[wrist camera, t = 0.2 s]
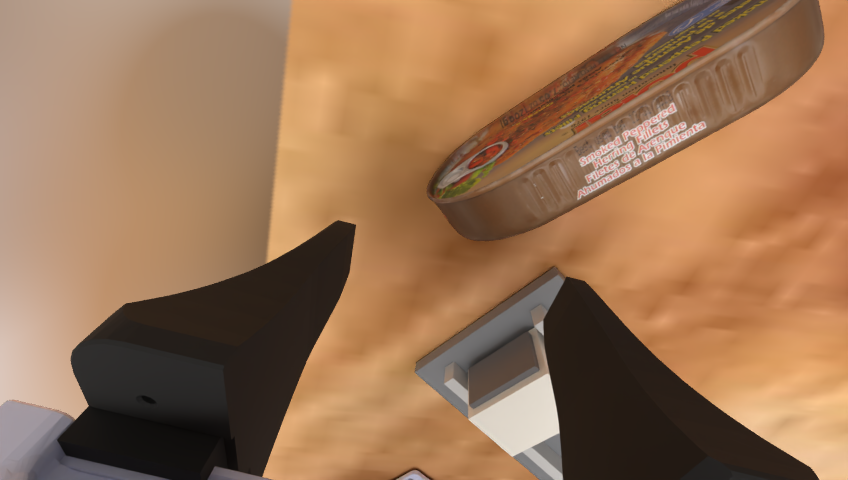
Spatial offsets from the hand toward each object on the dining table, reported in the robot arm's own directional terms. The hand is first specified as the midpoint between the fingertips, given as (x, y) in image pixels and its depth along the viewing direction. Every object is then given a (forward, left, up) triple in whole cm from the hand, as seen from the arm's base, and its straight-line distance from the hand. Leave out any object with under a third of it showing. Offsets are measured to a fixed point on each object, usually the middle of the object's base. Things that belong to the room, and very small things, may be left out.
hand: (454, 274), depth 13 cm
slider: (-4, -11, -9) cm, 15 cm away
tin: (+7, -1, -10) cm, 12 cm away
